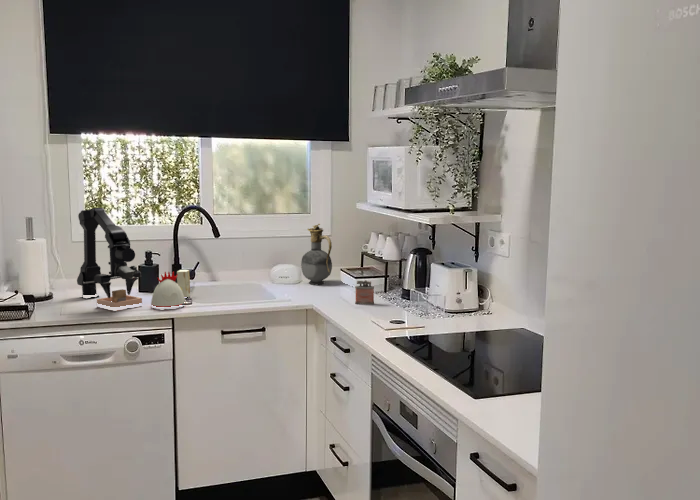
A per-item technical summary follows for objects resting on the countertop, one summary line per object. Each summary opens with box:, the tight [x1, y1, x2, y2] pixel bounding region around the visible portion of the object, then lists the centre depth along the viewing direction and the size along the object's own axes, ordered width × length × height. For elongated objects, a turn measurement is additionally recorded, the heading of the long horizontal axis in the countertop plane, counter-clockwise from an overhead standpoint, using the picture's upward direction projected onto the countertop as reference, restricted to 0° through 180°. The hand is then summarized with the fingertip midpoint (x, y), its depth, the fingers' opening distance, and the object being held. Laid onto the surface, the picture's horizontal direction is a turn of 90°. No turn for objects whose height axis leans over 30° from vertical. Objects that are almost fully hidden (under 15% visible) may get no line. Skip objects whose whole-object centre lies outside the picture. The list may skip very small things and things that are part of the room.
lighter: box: [354, 279, 375, 306], centre depth 283 cm, size 8×3×10 cm, turn 84°
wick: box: [111, 288, 127, 302], centre depth 280 cm, size 2×5×6 cm, turn 142°
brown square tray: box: [96, 294, 143, 307], centre depth 280 cm, size 13×13×4 cm
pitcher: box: [300, 223, 333, 286], centre depth 328 cm, size 11×19×30 cm, turn 42°
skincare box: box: [176, 269, 191, 298], centre depth 299 cm, size 6×4×12 cm
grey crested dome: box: [150, 271, 186, 307], centre depth 280 cm, size 14×14×15 cm
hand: (119, 296), depth 280 cm, fingers open, 9 cm apart
